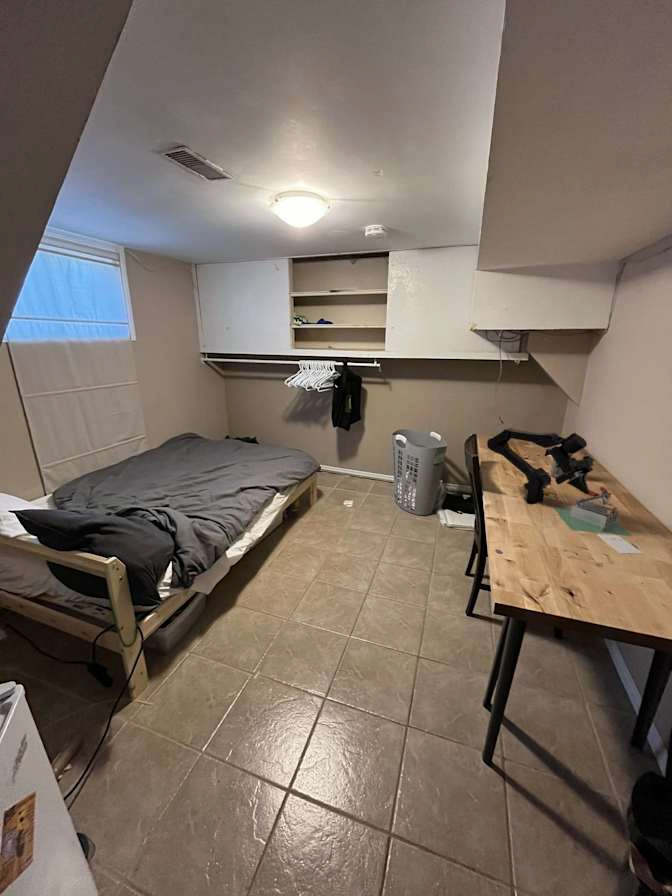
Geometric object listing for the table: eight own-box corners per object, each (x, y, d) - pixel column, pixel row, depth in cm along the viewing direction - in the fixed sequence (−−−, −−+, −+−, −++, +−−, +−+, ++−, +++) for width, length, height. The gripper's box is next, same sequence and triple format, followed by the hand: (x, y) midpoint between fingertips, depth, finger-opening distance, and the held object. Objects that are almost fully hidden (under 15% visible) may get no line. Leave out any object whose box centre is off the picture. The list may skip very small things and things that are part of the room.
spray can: (567, 475, 196) (574, 439, 191) (567, 480, 190) (574, 443, 184) (549, 472, 201) (556, 437, 195) (549, 477, 194) (555, 440, 189)
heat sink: (568, 518, 146) (571, 501, 144) (583, 511, 152) (586, 494, 150) (602, 531, 136) (606, 512, 134) (616, 523, 142) (621, 505, 140)
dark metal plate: (579, 503, 146) (578, 501, 146) (582, 501, 147) (581, 499, 147) (608, 496, 137) (607, 494, 137) (611, 494, 138) (610, 492, 138)
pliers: (591, 504, 162) (592, 499, 161) (576, 488, 180) (577, 483, 180) (621, 508, 159) (623, 502, 158) (602, 491, 177) (604, 486, 177)
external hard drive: (618, 557, 122) (595, 538, 134) (644, 557, 122) (617, 538, 134) (620, 552, 121) (595, 534, 133) (645, 553, 121) (618, 534, 133)
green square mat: (570, 532, 137) (571, 529, 137) (552, 509, 156) (553, 507, 155) (631, 538, 133) (632, 536, 132) (605, 514, 152) (606, 512, 151)
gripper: (568, 453, 139) (595, 489, 133) (592, 446, 148) (618, 479, 142) (544, 467, 147) (568, 501, 141) (568, 459, 157) (592, 491, 151)
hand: (587, 493), depth 144 cm, fingers closed
